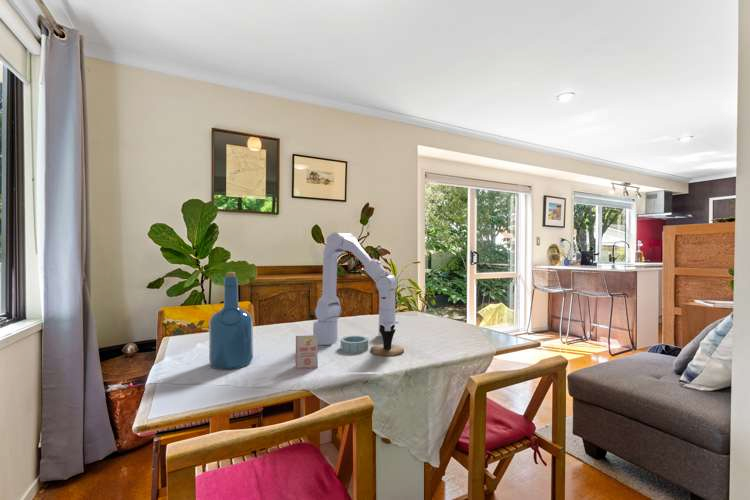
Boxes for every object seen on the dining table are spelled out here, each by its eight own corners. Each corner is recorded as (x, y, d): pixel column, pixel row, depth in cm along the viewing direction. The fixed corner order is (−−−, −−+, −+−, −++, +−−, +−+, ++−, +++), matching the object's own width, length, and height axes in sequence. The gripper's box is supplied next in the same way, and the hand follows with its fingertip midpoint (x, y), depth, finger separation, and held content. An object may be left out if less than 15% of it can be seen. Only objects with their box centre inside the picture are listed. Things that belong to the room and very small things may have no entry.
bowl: (339, 354, 131) (339, 342, 131) (342, 346, 141) (342, 335, 141) (367, 354, 131) (367, 342, 130) (368, 346, 141) (368, 335, 140)
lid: (370, 356, 127) (370, 342, 126) (371, 346, 139) (371, 333, 138) (405, 356, 126) (405, 342, 126) (402, 346, 138) (403, 333, 138)
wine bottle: (210, 360, 124) (209, 271, 124) (252, 355, 129) (251, 270, 128) (207, 373, 111) (206, 274, 111) (253, 368, 116) (253, 273, 115)
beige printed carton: (296, 365, 119) (296, 334, 119) (317, 364, 120) (317, 333, 120) (295, 369, 115) (295, 337, 115) (317, 367, 117) (317, 336, 116)
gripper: (399, 312, 125) (399, 352, 125) (397, 305, 139) (397, 341, 140) (378, 312, 125) (378, 352, 125) (378, 305, 139) (378, 340, 140)
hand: (387, 346), depth 132 cm, fingers open, 4 cm apart
